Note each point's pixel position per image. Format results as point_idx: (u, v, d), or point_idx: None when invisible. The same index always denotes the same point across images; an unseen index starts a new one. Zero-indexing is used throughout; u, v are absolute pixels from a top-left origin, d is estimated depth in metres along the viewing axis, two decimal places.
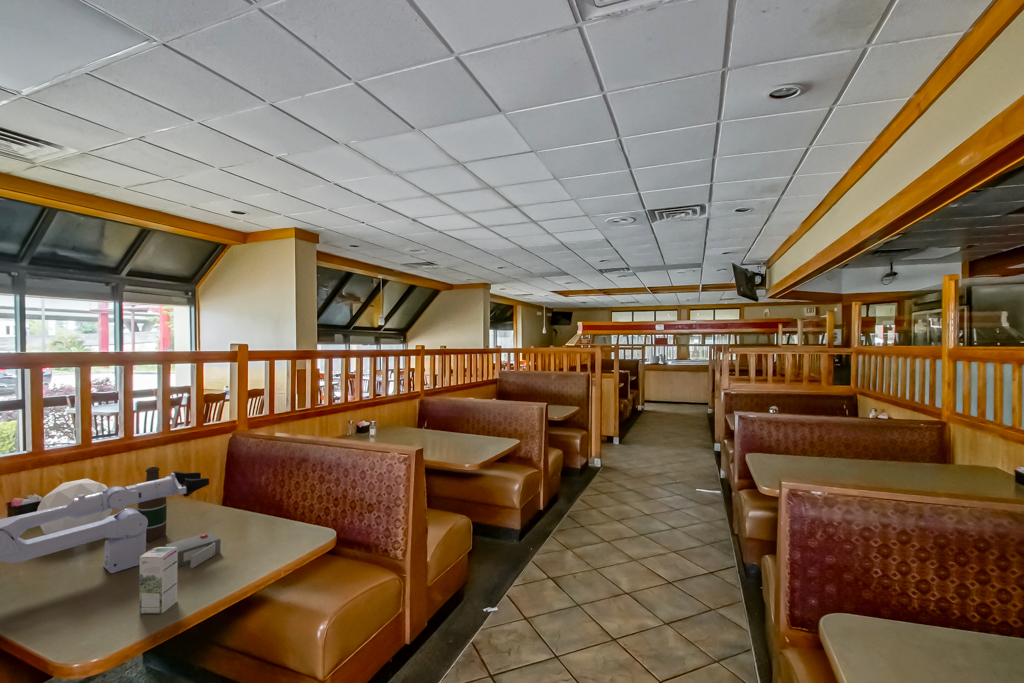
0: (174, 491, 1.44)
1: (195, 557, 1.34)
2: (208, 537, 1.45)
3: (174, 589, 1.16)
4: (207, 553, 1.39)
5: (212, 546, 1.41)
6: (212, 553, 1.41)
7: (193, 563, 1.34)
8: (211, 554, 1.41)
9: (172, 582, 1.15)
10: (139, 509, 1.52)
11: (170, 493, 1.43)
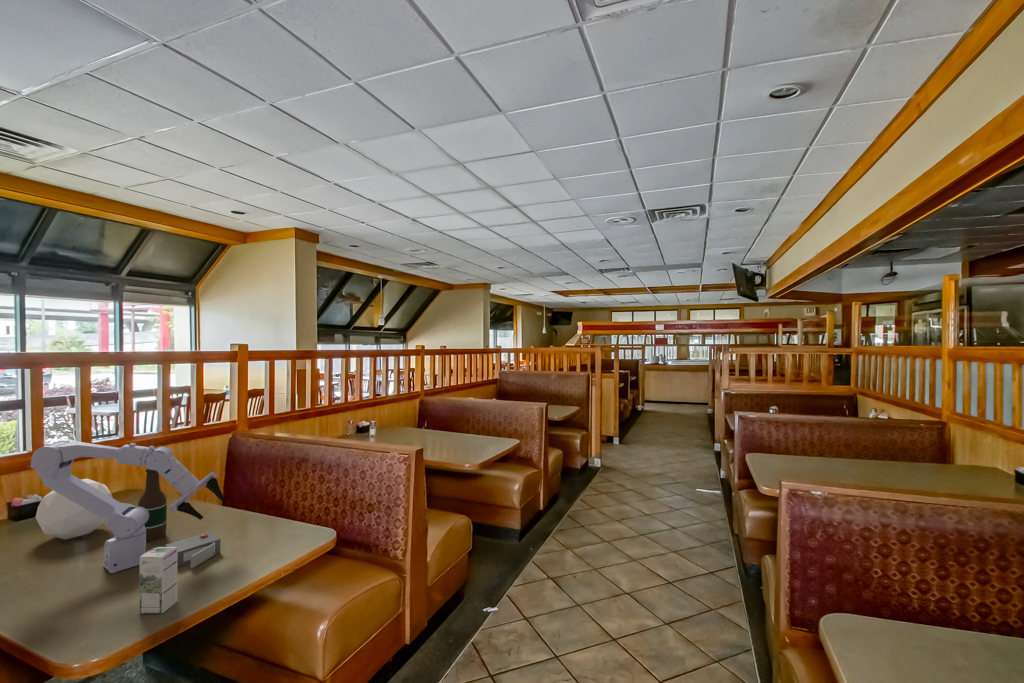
0: (182, 495, 1.41)
1: (195, 557, 1.34)
2: (208, 537, 1.45)
3: (174, 589, 1.16)
4: (207, 553, 1.39)
5: (212, 546, 1.41)
6: (212, 553, 1.41)
7: (193, 563, 1.34)
8: (211, 554, 1.41)
9: (172, 582, 1.15)
10: None
11: None
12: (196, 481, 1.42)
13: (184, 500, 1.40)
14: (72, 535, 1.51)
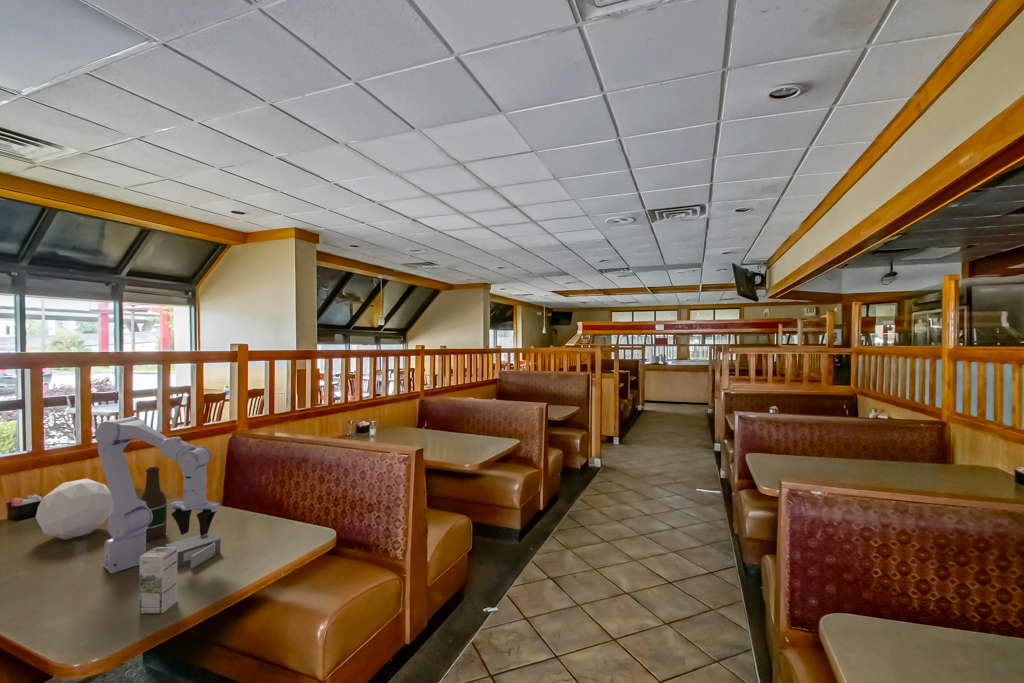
0: None
1: (195, 557, 1.34)
2: (208, 537, 1.45)
3: (174, 589, 1.16)
4: (207, 553, 1.39)
5: (212, 546, 1.41)
6: (212, 553, 1.41)
7: (193, 563, 1.34)
8: (211, 554, 1.41)
9: (172, 582, 1.15)
10: None
11: None
12: (194, 503, 1.34)
13: None
14: (72, 535, 1.51)
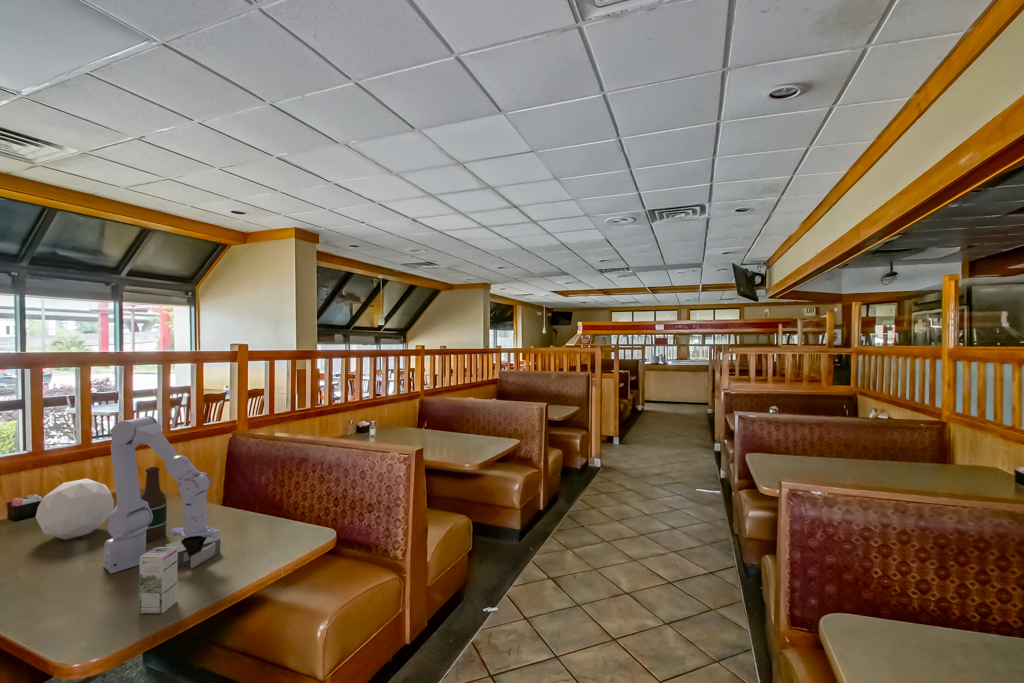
0: None
1: (195, 557, 1.34)
2: (208, 537, 1.45)
3: (174, 589, 1.16)
4: (207, 553, 1.39)
5: (212, 546, 1.41)
6: (212, 553, 1.41)
7: (193, 563, 1.34)
8: (211, 554, 1.41)
9: (172, 582, 1.15)
10: None
11: None
12: (194, 530, 1.34)
13: None
14: (72, 535, 1.51)
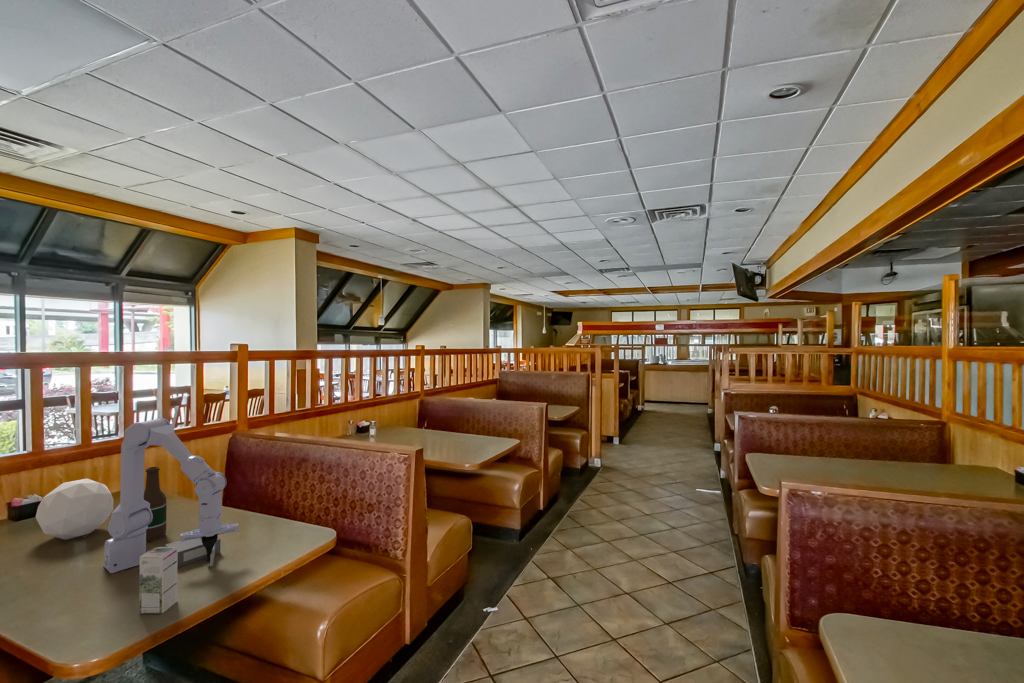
0: None
1: (212, 555, 1.35)
2: None
3: (174, 589, 1.16)
4: None
5: (214, 546, 1.41)
6: (214, 553, 1.41)
7: (212, 561, 1.35)
8: (214, 553, 1.41)
9: (172, 582, 1.15)
10: None
11: None
12: (217, 527, 1.36)
13: (195, 537, 1.34)
14: (72, 535, 1.51)
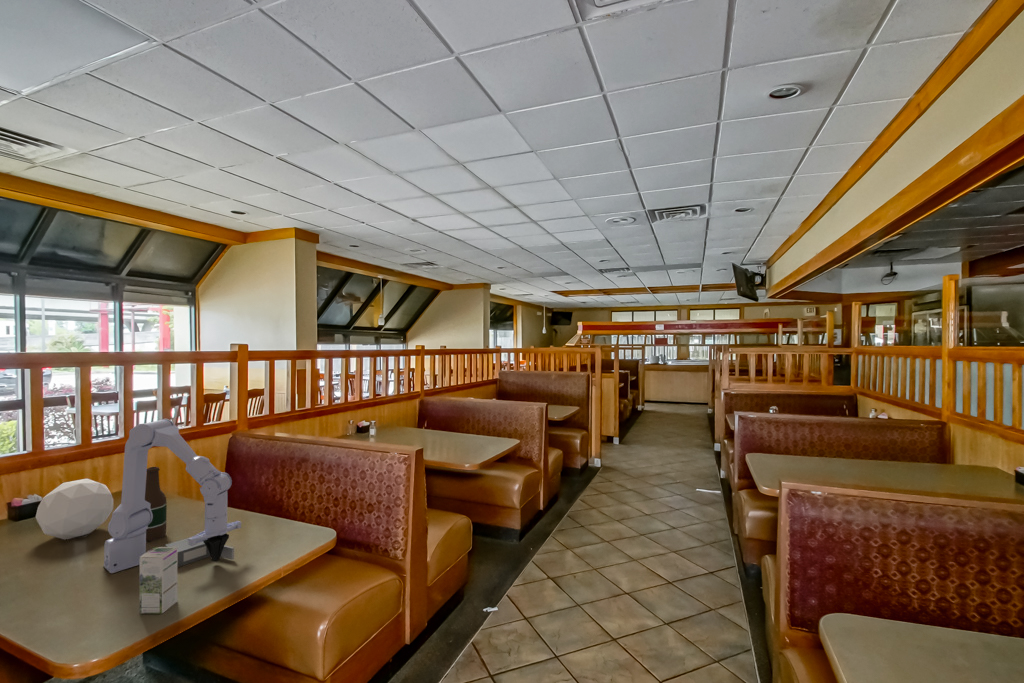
0: (204, 532, 1.35)
1: None
2: None
3: (174, 589, 1.16)
4: None
5: None
6: None
7: None
8: None
9: (172, 582, 1.15)
10: None
11: None
12: (226, 526, 1.37)
13: (204, 539, 1.33)
14: (72, 535, 1.51)
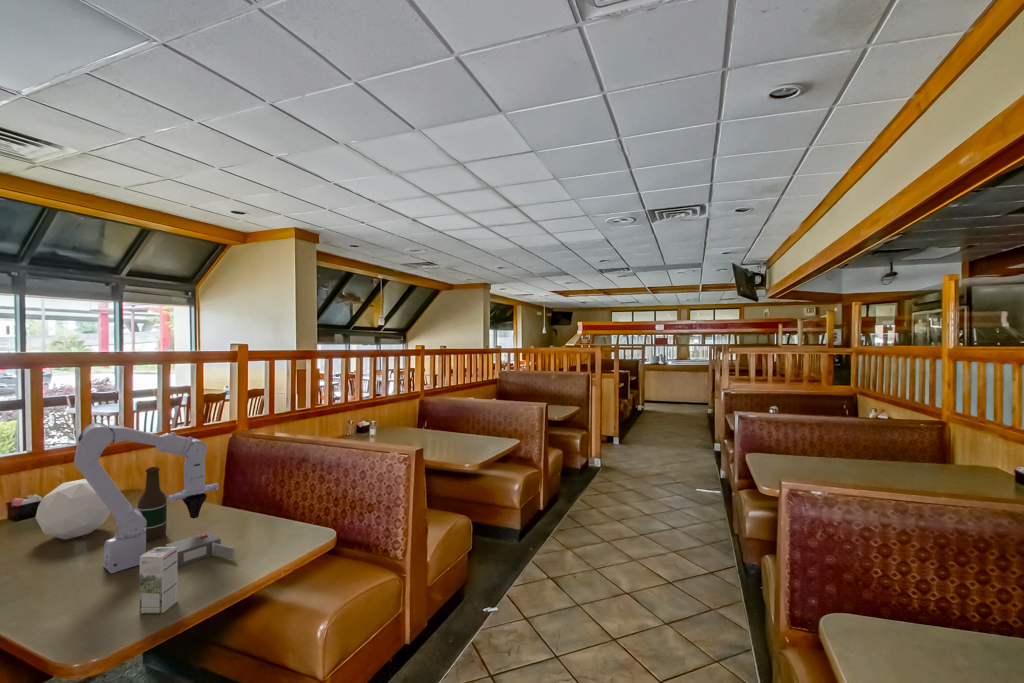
0: (183, 491, 1.47)
1: None
2: (208, 537, 1.45)
3: (174, 589, 1.16)
4: None
5: None
6: None
7: None
8: None
9: (172, 582, 1.15)
10: (139, 509, 1.52)
11: (184, 488, 1.48)
12: (204, 486, 1.50)
13: (183, 497, 1.46)
14: (72, 535, 1.51)
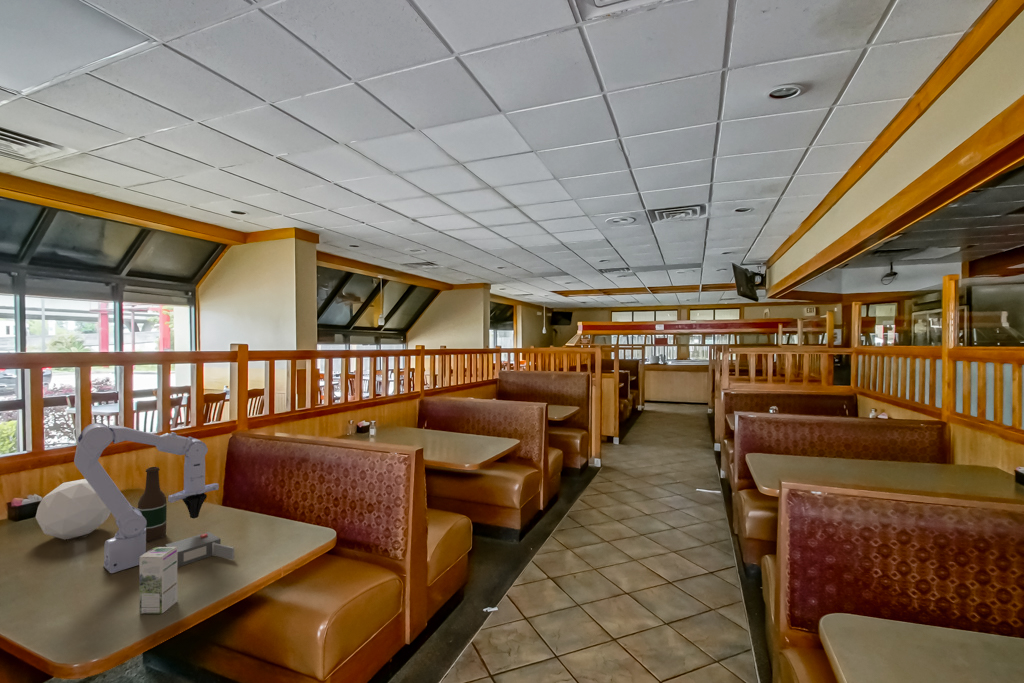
0: (183, 491, 1.47)
1: None
2: (208, 537, 1.45)
3: (174, 589, 1.16)
4: None
5: None
6: None
7: None
8: None
9: (172, 582, 1.15)
10: (139, 509, 1.52)
11: (184, 488, 1.48)
12: (204, 486, 1.50)
13: (183, 497, 1.46)
14: (72, 535, 1.51)
